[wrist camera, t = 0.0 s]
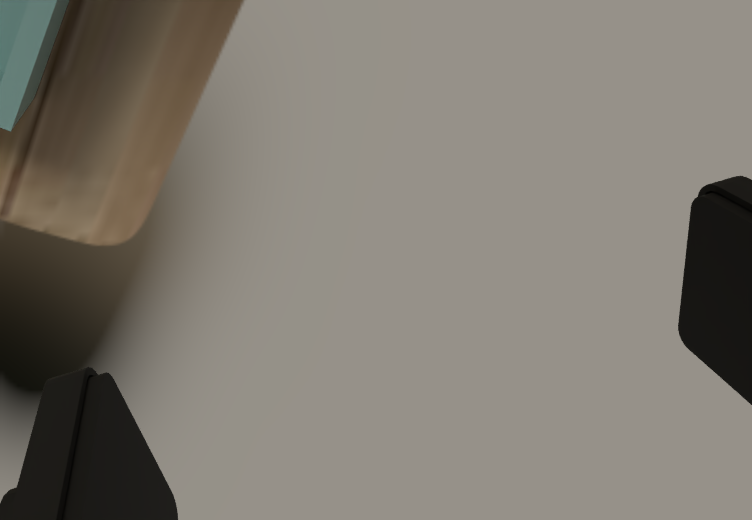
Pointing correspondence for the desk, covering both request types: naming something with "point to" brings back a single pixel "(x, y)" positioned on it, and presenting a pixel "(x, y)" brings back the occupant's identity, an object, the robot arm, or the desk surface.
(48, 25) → the bin
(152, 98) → the desk surface
